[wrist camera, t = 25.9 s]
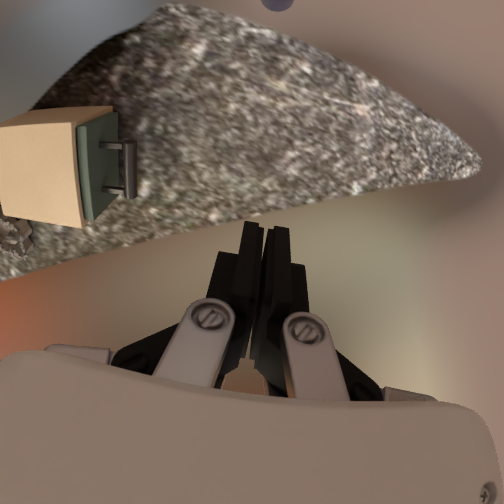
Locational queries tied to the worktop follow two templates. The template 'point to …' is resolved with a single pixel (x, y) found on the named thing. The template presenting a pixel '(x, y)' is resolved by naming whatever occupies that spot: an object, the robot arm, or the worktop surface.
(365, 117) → the worktop surface
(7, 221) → the egg carton
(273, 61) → the worktop surface
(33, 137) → the wooden drawer box
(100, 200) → the green-fronted drawer
